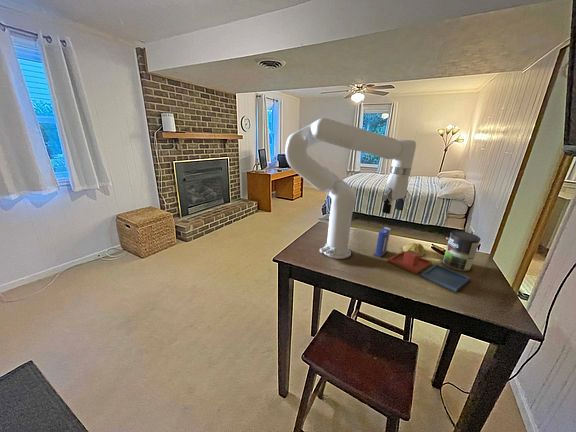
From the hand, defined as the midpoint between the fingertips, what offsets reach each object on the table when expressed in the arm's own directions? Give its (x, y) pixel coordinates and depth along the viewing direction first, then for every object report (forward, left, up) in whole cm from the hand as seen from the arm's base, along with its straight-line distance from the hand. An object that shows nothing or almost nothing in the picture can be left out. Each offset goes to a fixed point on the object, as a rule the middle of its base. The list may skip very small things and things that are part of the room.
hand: (392, 211), depth 104 cm
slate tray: (+2, -25, -21) cm, 33 cm away
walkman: (0, +2, -21) cm, 21 cm away
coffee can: (+18, -23, -21) cm, 36 cm away
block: (+2, -11, -20) cm, 23 cm away
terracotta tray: (+2, -11, -21) cm, 24 cm away
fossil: (+15, -6, -21) cm, 27 cm away
